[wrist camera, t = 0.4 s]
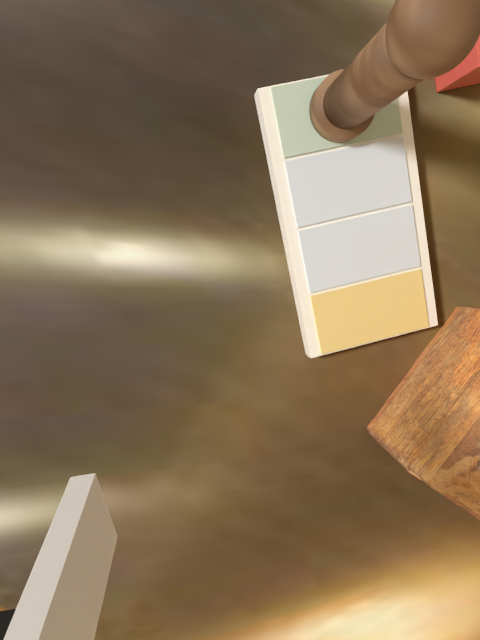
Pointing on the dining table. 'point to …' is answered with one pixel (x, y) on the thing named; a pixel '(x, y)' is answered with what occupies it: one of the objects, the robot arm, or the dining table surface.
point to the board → (348, 222)
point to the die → (462, 72)
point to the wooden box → (440, 413)
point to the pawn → (395, 63)
